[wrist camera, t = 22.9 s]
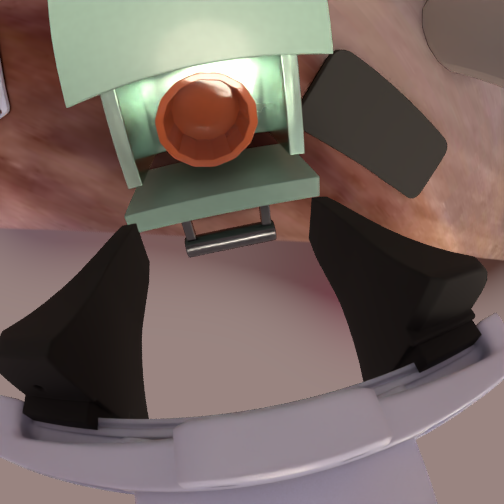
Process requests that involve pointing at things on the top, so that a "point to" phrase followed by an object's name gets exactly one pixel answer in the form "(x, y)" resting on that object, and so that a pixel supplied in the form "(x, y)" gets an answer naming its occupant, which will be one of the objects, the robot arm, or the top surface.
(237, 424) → the robot arm
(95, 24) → the green rectangular box
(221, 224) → the top surface
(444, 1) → the cup
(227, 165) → the drawer
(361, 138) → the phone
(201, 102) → the small cup
